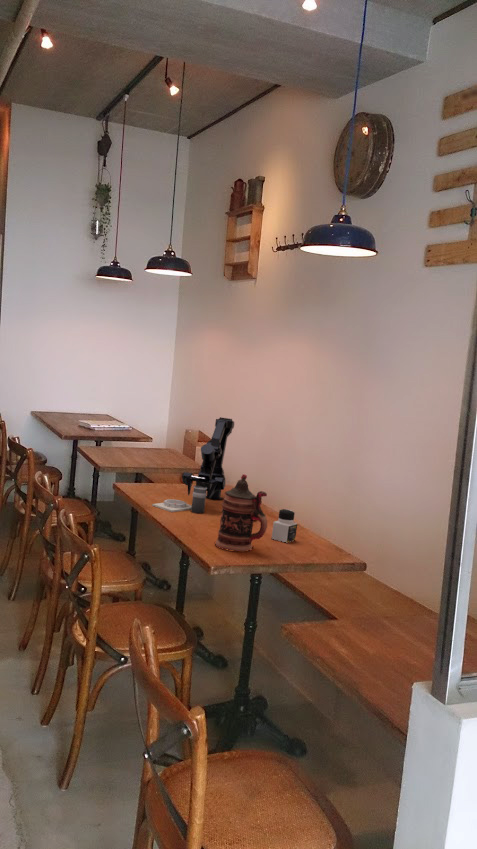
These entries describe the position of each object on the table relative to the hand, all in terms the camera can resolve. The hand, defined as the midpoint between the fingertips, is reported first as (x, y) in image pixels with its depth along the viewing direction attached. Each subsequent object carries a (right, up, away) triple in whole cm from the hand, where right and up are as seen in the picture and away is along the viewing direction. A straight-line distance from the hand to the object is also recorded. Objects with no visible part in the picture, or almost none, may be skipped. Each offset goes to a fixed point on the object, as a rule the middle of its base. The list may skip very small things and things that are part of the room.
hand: (198, 496), depth 320 cm
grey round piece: (-1, -7, +2) cm, 7 cm away
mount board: (-11, -5, +5) cm, 13 cm away
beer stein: (+16, -14, -48) cm, 52 cm away
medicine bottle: (+35, -15, -28) cm, 47 cm away
